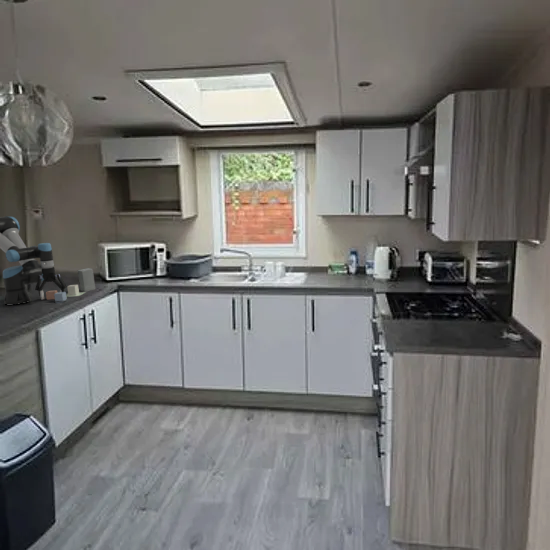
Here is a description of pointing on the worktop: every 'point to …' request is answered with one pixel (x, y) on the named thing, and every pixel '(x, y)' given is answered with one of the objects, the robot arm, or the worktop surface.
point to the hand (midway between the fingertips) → (52, 300)
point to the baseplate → (76, 295)
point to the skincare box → (86, 279)
